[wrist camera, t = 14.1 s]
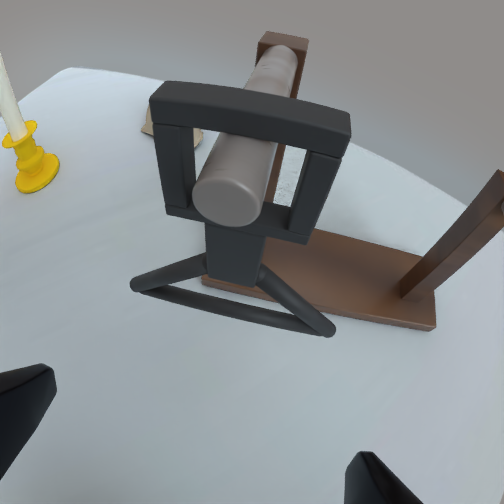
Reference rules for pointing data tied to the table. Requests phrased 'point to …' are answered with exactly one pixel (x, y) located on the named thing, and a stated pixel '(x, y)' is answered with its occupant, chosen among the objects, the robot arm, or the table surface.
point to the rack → (326, 243)
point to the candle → (24, 142)
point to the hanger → (272, 215)
